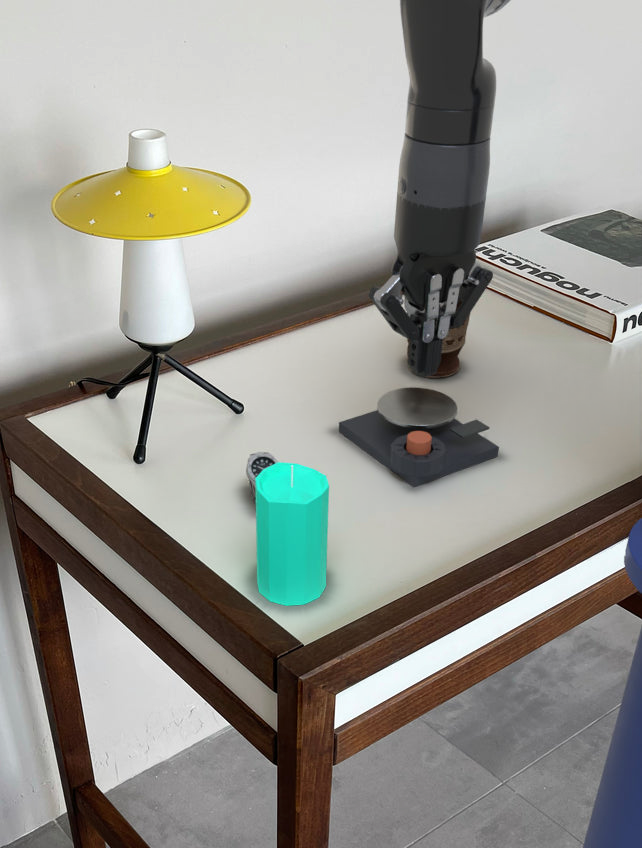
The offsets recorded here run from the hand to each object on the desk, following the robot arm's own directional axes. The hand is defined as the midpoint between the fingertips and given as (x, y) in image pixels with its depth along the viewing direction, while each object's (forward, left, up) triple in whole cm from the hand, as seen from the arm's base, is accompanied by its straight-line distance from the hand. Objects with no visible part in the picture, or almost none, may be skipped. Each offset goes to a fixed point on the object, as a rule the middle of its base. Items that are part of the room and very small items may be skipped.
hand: (423, 372), depth 96 cm
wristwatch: (+4, +15, -11) cm, 20 cm away
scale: (+4, -4, -11) cm, 13 cm away
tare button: (0, 0, -8) cm, 8 cm away
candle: (-9, +20, -11) cm, 25 cm away
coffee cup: (+17, -17, -11) cm, 27 cm away
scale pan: (+5, -5, -8) cm, 11 cm away
